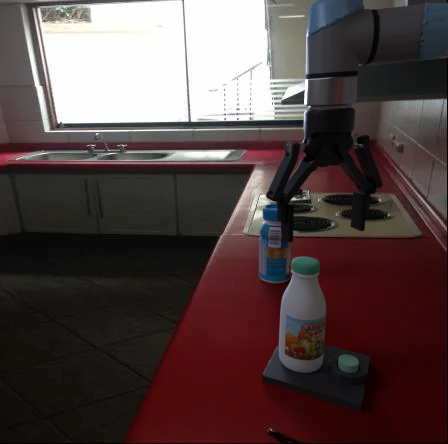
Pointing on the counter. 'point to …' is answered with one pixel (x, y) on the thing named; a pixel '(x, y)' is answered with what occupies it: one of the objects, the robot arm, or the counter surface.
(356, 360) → the button
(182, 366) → the counter surface
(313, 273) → the milk bottle
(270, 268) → the beverage bottle
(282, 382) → the scale
